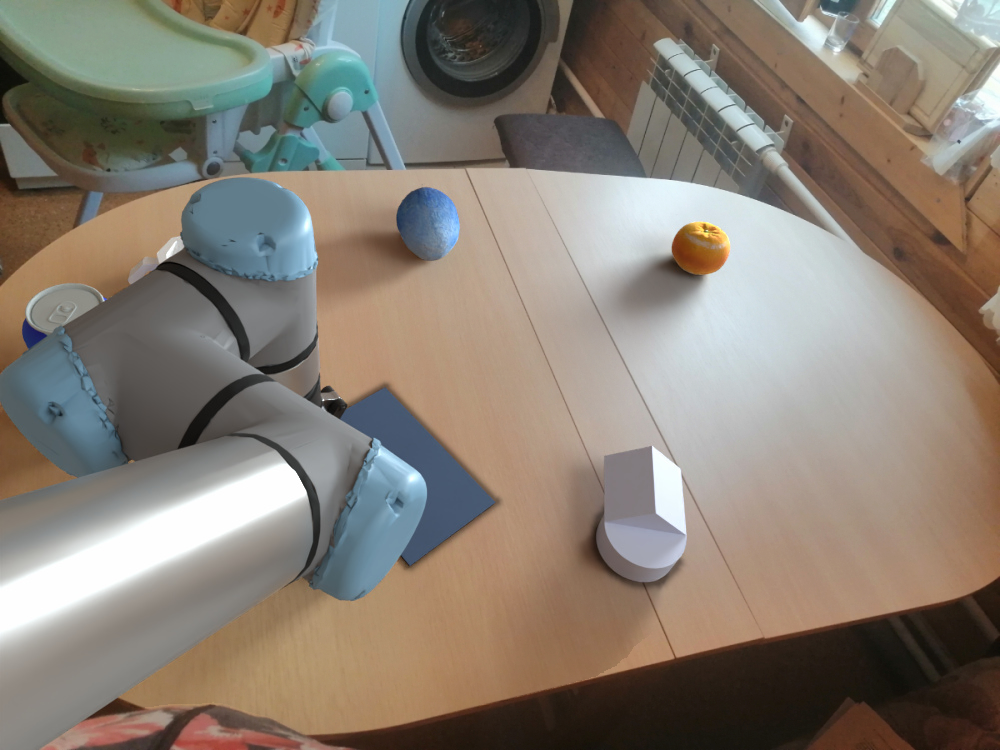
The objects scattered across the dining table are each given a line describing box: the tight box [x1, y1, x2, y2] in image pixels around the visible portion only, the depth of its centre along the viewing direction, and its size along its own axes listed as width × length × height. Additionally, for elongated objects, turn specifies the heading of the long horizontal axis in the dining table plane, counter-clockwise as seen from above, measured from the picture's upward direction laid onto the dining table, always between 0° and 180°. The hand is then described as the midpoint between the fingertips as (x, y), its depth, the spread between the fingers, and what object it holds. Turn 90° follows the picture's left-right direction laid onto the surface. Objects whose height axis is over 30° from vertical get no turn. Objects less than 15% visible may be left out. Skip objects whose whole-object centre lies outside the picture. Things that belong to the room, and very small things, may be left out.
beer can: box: [21, 282, 108, 350], centre depth 73 cm, size 8×8×16 cm
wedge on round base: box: [595, 445, 688, 583], centre depth 78 cm, size 9×7×13 cm
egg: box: [395, 184, 461, 262], centre depth 103 cm, size 9×9×15 cm
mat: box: [340, 386, 496, 567], centre depth 81 cm, size 12×20×1 cm, turn 43°
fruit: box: [671, 221, 731, 276], centre depth 110 cm, size 8×8×8 cm
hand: (286, 525), depth 71 cm, fingers closed
